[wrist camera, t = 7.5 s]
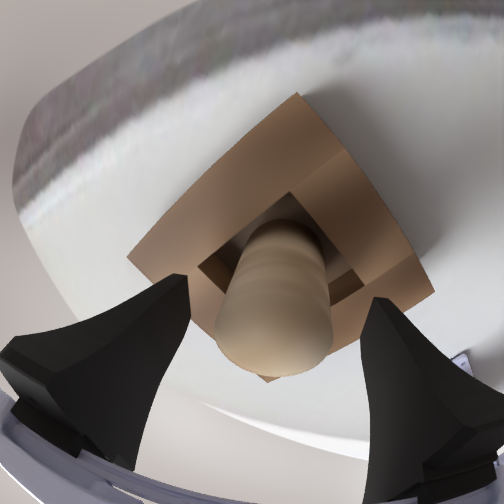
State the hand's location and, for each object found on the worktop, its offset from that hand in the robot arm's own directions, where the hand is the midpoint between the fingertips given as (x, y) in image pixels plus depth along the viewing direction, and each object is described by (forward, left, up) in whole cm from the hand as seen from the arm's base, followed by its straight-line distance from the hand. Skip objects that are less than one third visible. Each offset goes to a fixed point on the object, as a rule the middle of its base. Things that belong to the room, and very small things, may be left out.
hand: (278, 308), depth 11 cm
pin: (0, 0, -4) cm, 4 cm away
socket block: (0, 0, -5) cm, 5 cm away
